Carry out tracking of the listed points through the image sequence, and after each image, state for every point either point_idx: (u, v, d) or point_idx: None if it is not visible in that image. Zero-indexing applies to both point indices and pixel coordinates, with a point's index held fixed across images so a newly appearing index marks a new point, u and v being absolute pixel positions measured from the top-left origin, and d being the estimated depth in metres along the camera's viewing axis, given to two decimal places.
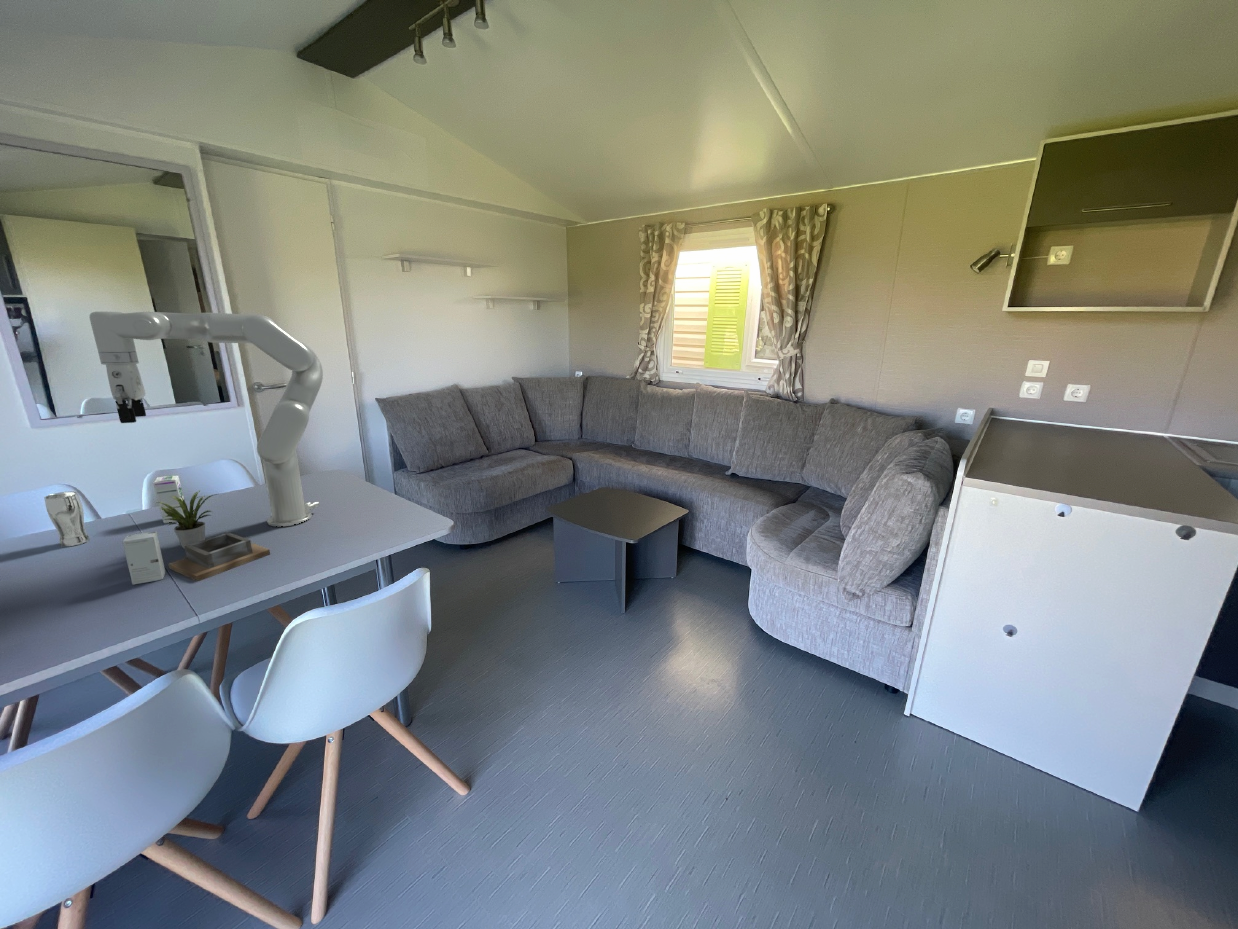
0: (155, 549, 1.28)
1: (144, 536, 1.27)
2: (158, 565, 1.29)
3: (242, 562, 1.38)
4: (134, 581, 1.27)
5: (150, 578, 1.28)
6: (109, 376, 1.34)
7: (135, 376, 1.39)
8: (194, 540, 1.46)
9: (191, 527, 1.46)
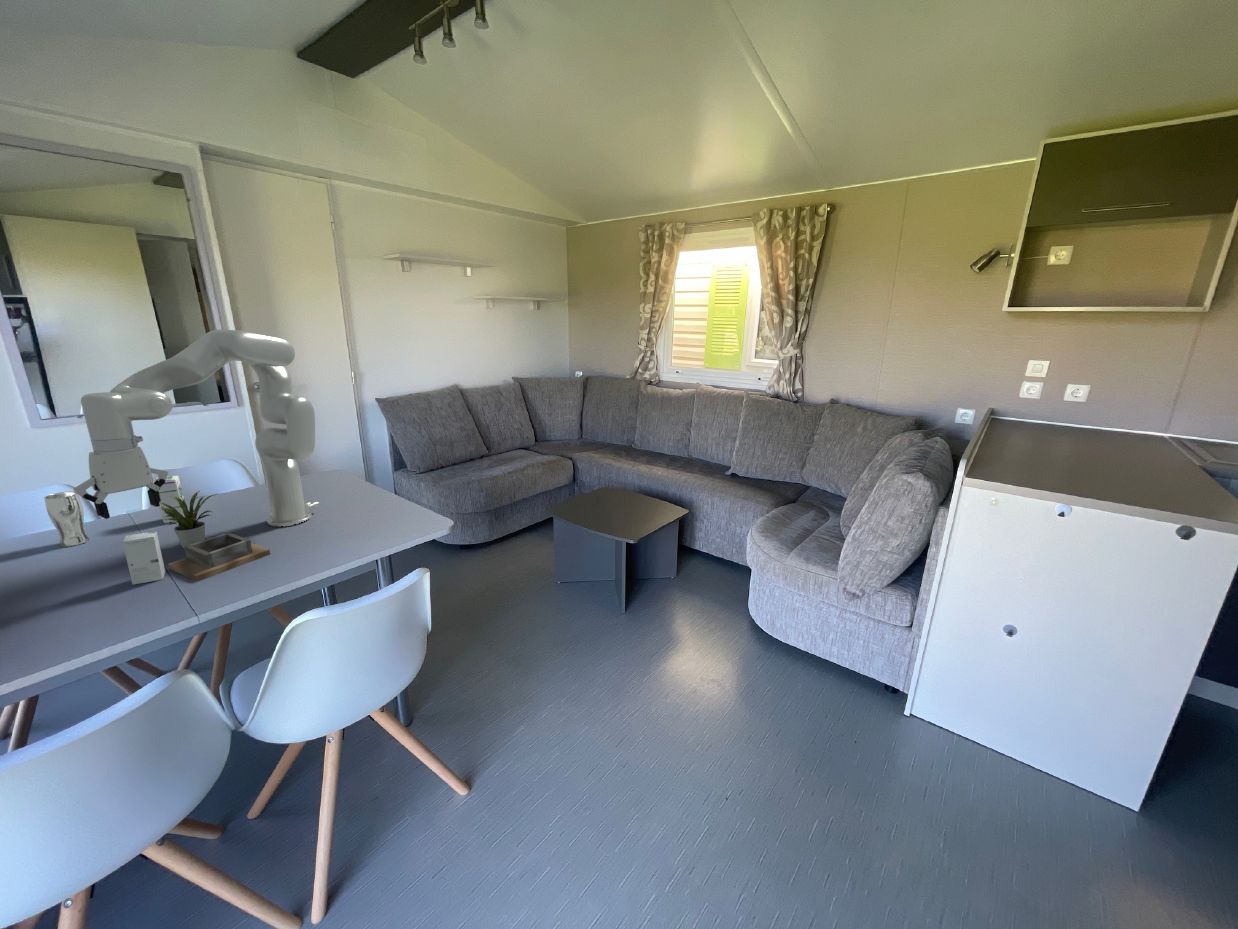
0: (155, 549, 1.28)
1: (144, 536, 1.27)
2: (158, 565, 1.29)
3: (242, 562, 1.38)
4: (134, 581, 1.27)
5: (150, 578, 1.28)
6: (146, 459, 1.24)
7: None
8: (194, 540, 1.46)
9: (191, 527, 1.46)
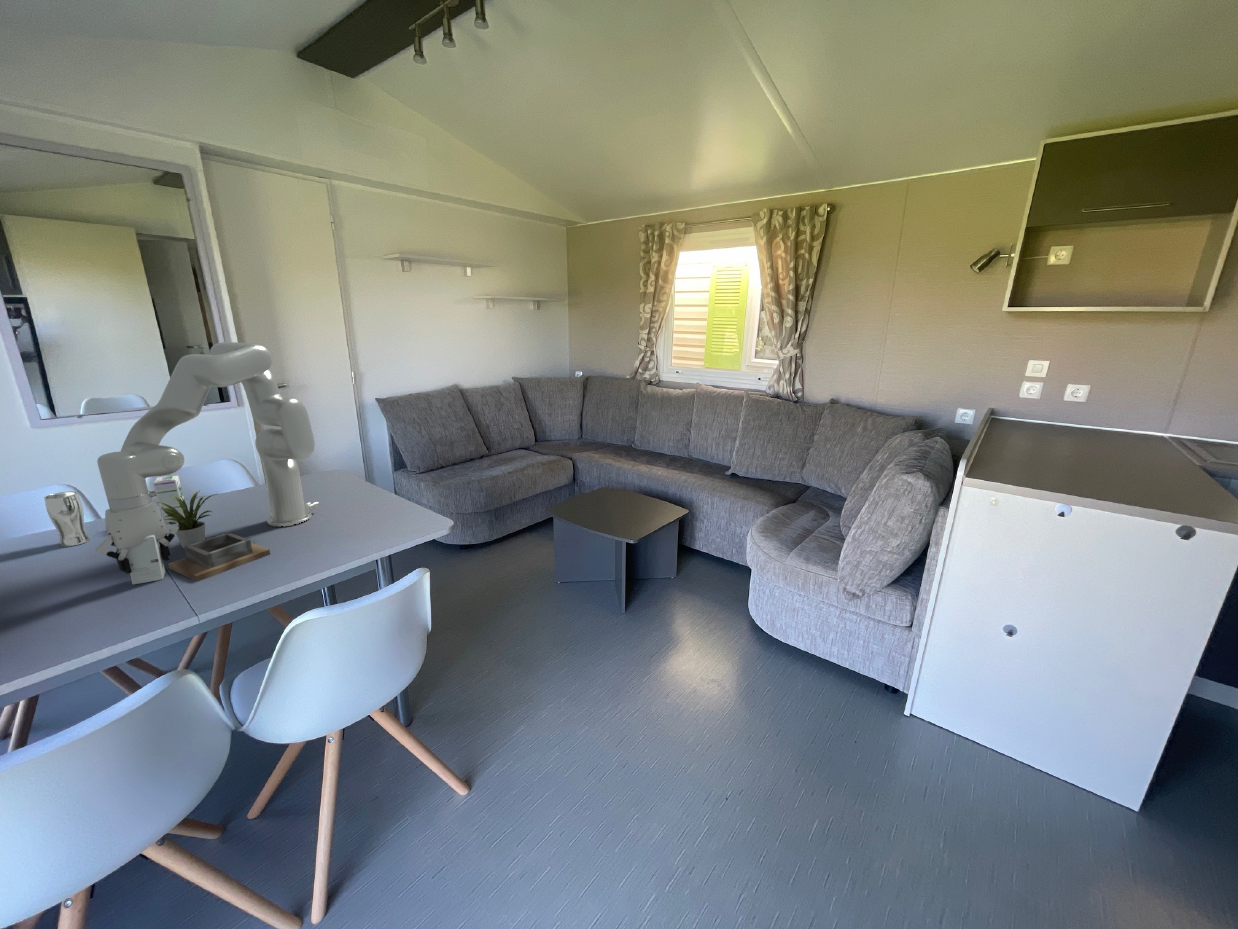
0: (155, 549, 1.28)
1: None
2: (158, 565, 1.29)
3: (242, 562, 1.38)
4: (134, 581, 1.27)
5: (150, 578, 1.28)
6: None
7: None
8: (194, 540, 1.46)
9: (191, 527, 1.46)
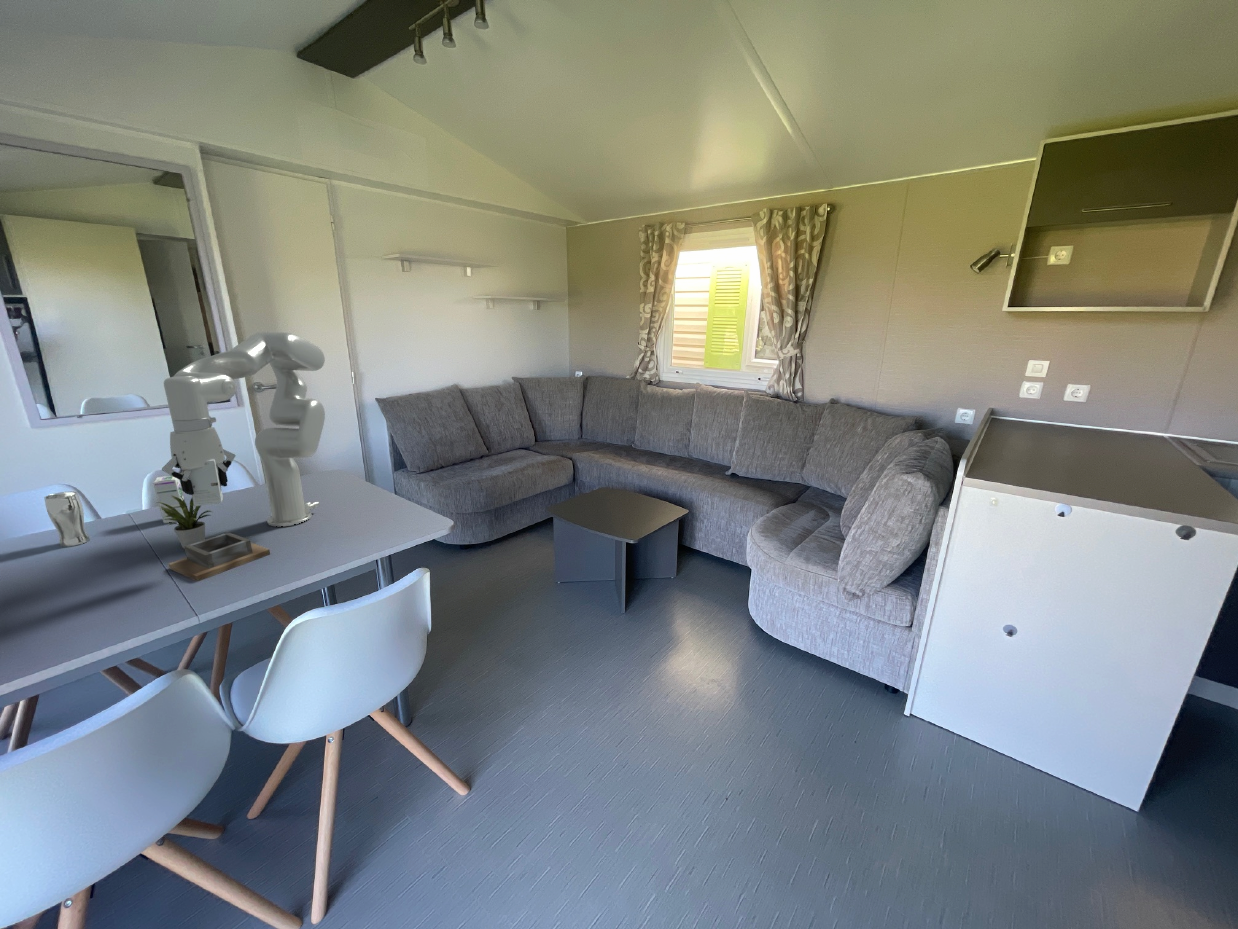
0: (215, 473, 1.33)
1: None
2: (218, 489, 1.34)
3: (242, 562, 1.38)
4: (195, 503, 1.32)
5: (210, 501, 1.33)
6: None
7: None
8: (194, 540, 1.46)
9: (191, 527, 1.46)
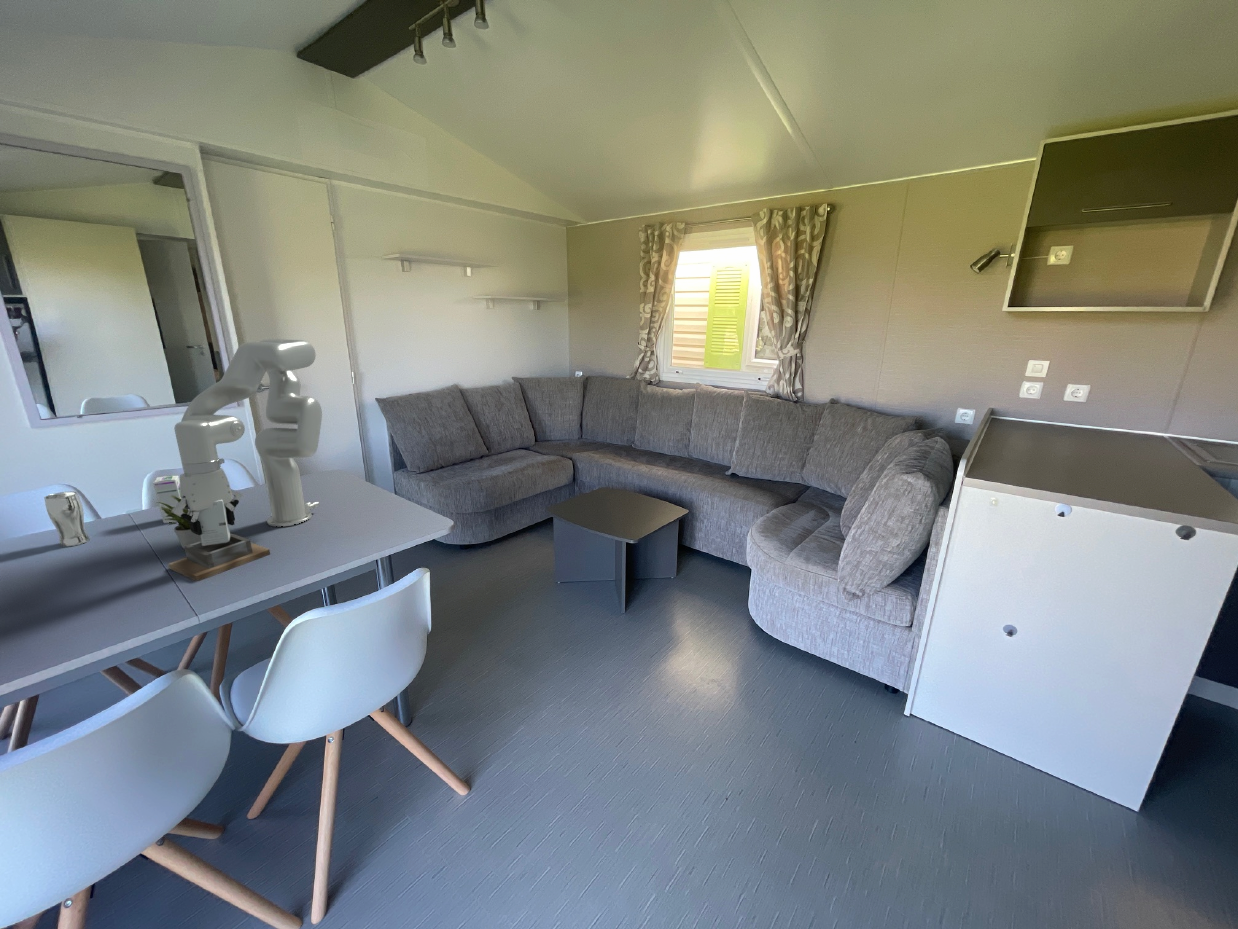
0: (223, 513, 1.36)
1: None
2: (225, 528, 1.37)
3: (242, 562, 1.38)
4: (203, 542, 1.35)
5: (218, 540, 1.36)
6: (227, 479, 1.37)
7: None
8: (194, 540, 1.46)
9: None
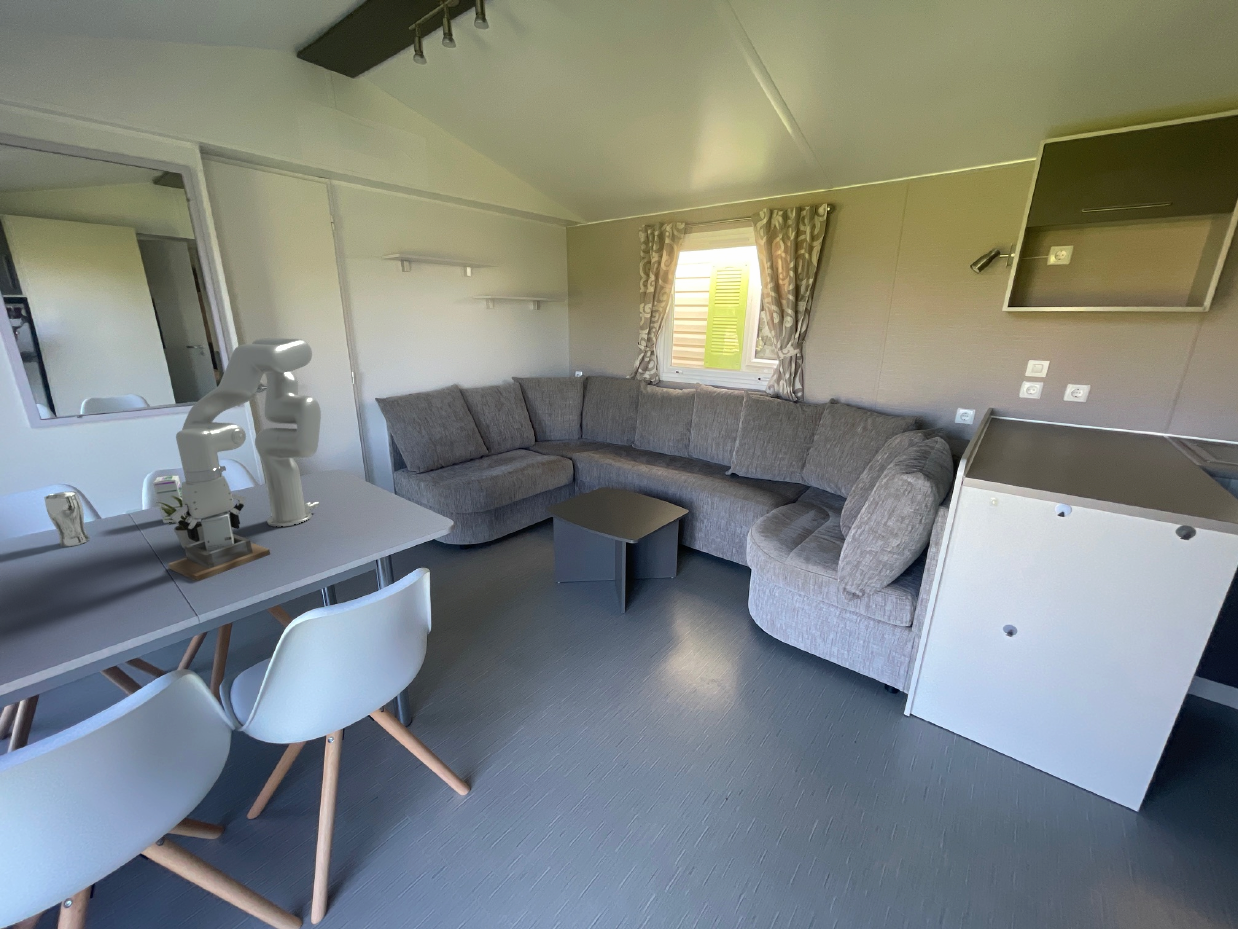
0: (229, 527, 1.38)
1: (219, 515, 1.37)
2: (231, 542, 1.39)
3: (242, 562, 1.38)
4: None
5: None
6: None
7: None
8: None
9: None
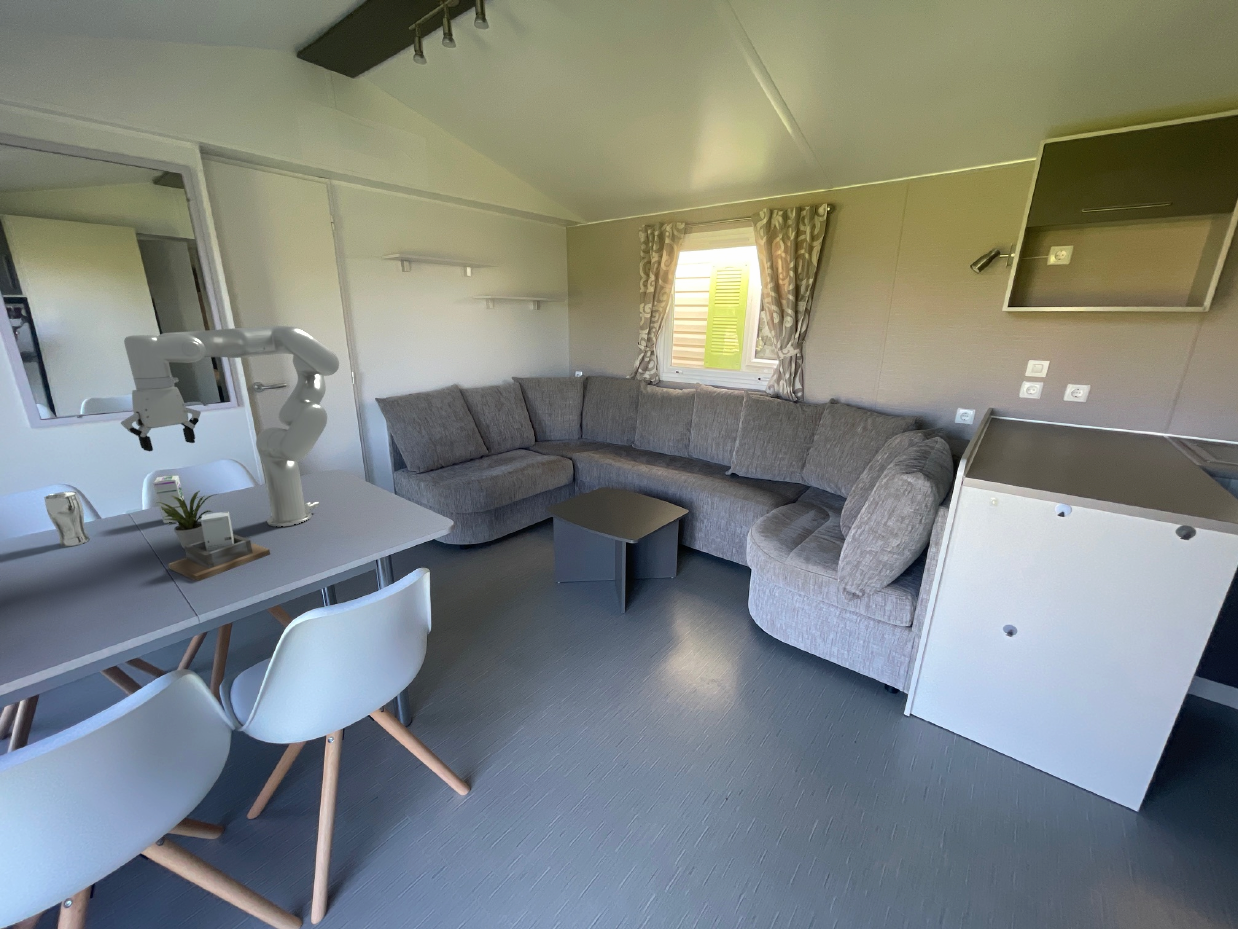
0: (229, 527, 1.38)
1: (219, 515, 1.37)
2: (231, 542, 1.39)
3: (242, 562, 1.38)
4: None
5: None
6: (182, 398, 1.36)
7: None
8: (194, 540, 1.46)
9: (191, 527, 1.46)
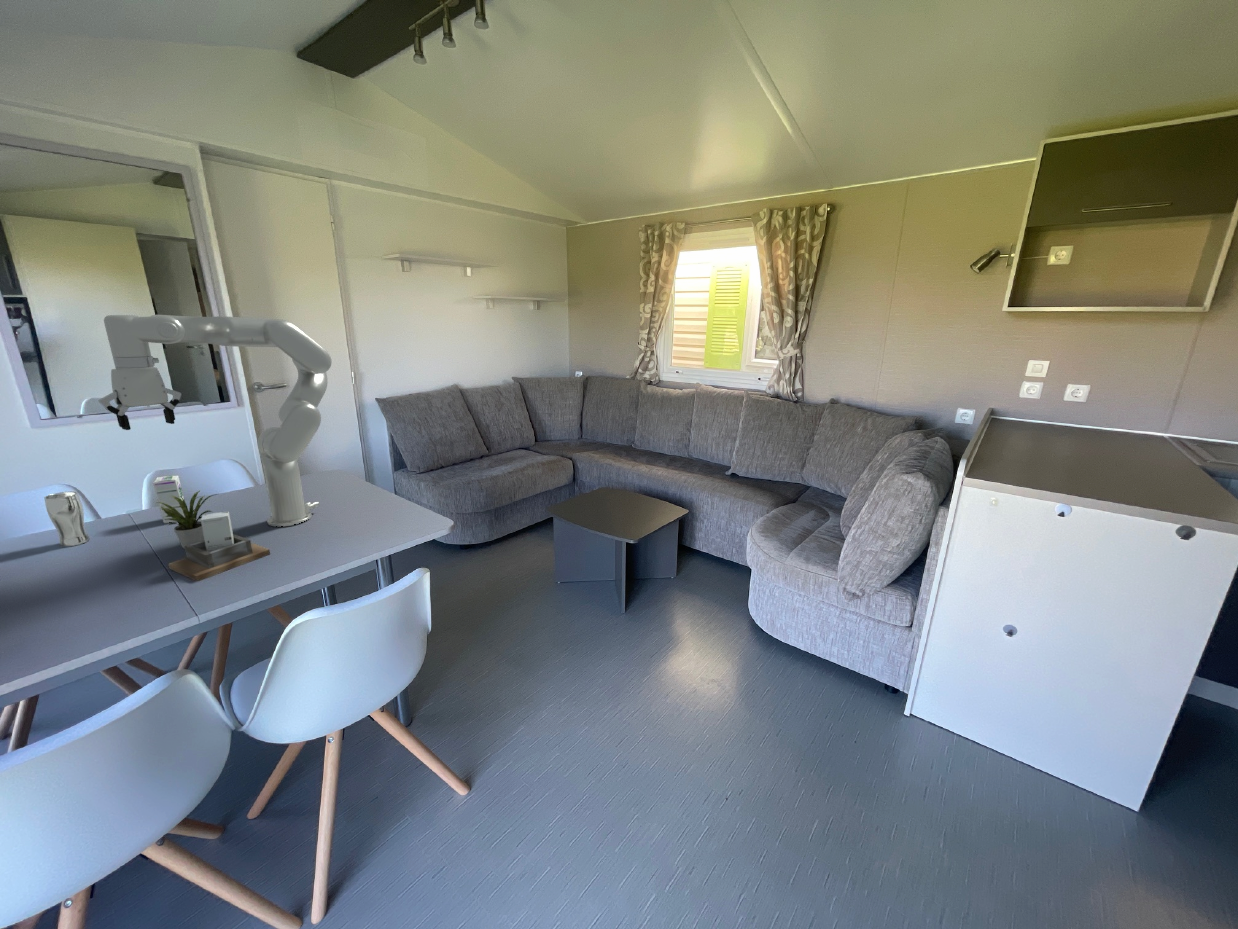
0: (229, 527, 1.38)
1: (219, 515, 1.37)
2: (231, 542, 1.39)
3: (242, 562, 1.38)
4: None
5: None
6: None
7: None
8: (194, 540, 1.46)
9: (191, 527, 1.46)
